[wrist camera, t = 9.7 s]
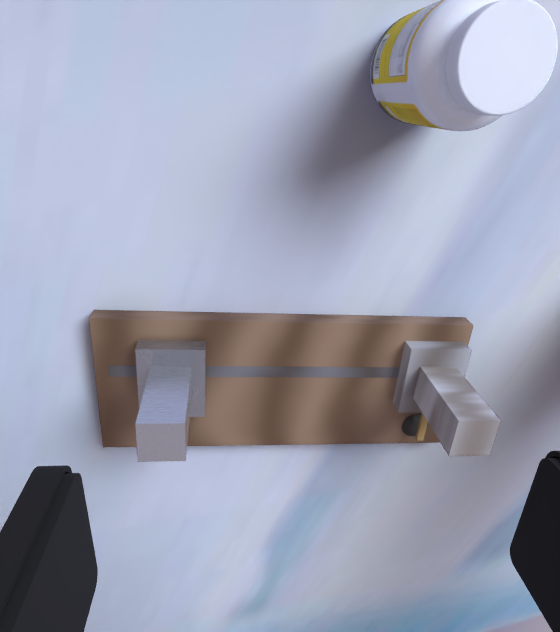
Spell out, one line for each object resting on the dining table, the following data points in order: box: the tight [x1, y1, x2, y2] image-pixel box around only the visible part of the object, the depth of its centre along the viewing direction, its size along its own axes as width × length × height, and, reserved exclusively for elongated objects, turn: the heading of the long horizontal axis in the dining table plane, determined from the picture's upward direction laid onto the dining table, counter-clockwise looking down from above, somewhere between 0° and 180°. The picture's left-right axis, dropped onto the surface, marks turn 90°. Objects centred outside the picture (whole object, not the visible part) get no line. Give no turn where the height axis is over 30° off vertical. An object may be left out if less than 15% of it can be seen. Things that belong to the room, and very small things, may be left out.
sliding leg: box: [135, 340, 206, 462], centre depth 34 cm, size 5×9×8 cm, turn 176°
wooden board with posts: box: [89, 310, 501, 456], centre depth 36 cm, size 30×12×10 cm, turn 86°
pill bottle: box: [370, 0, 558, 131], centre depth 26 cm, size 6×6×12 cm
